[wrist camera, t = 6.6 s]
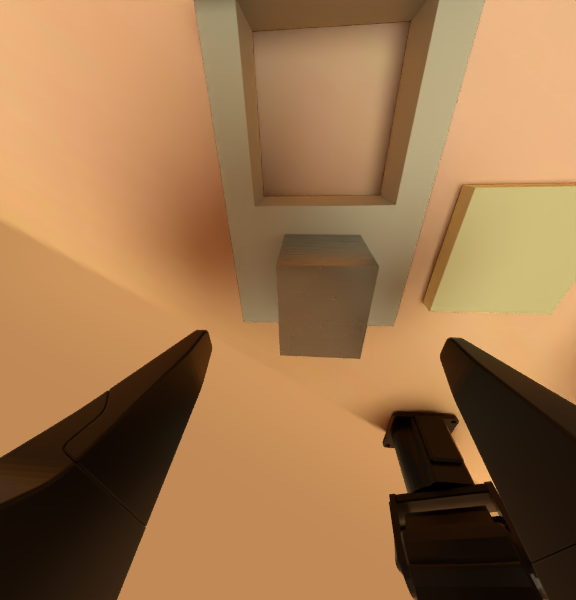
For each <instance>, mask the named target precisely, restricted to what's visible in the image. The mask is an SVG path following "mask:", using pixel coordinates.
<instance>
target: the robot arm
mask: <svg viewBox="0 0 576 600" xmlns="http://www.w3.org/2000/svg"><path fill="white" fill-rule="evenodd" d="M211 352H212V344H211V340H210V336H209V333H208V331H207V330H196V331H194V332H193V333H191V334H190V335H188V336H187V337H185V338H184V339H182V340H181V341H180V342H178V343H177V344H175V345H174V346H172V347H171V348H169V349H168V350H166V351H165V352H163V353H162V354H160V355H159V356H158V357H156V358H155V359H153V360H152V361H150V362H149V363H147V364H146V365H144V366H143V367H142V368H140V369H139V370H137V371H136V372H134V373H133V374H131V375H130V376H128V377H127V378H125V379H124V380H122V381H121V382H120V383H118V384H117V385H115V386H114V387H112V388H111V389H110V391H106V392H105V393H104V394H102V395H100V396H99V397H97V398H96V399H94V400H93V401H91V402H90V403H88V404H87V405H85V406H84V407H82V408H81V409H79V410H78V411H76V412H75V413H73V414H71V415H70V416H68V417H67V418H65V419H63V420H62V421H60V422H58V423H57V424H55V425H54V426H52V427H50V428H49V429H47V430H45V431H44V432H42V433H41V434H39V435H37V436H35V437H34V438H32V439H30V440H29V441H27V442H25V443H24V444H22V445H21V446H19V447H17V448H16V449H14V450H12V451H11V452H9V453H7V454H6V455H4V456H3V457H1V458H0V600H117V598H118V596H119V593H120V591H121V588H122V586H123V583H124V581H125V578H126V576H127V573H128V571H129V568H130V566H131V563H132V561H133V558H134V556H135V553H136V551H137V548H138V545H139V543H140V541H141V538H142V536H143V533H144V531H145V528H146V527H145V526H146V525H147V523H148V520H149V518H150V515H151V512H152V510H153V508H154V505H155V503H156V500H157V498H158V495H159V493H160V490H161V487H162V485H163V483H164V480H165V478H166V475H167V473H168V470H169V467H170V465H171V463H172V460H173V458H174V455H175V453H176V450H177V447H178V445H179V443H180V440H181V438H182V435H183V433H184V430H185V428H186V425H187V423H188V420H189V418H190V415H191V413H192V410H193V408H194V405H195V403H196V400H197V398H198V395H199V393H200V390H201V387H202V384H203V381H204V378H205V374H206V370H207V367H208V363H209V359H210V356H211ZM440 360H441V363H442V366H443V369H444V372H445V374H446V377H447V380H448V383H449V386H450V389H451V392H452V394H453V397H454V399H455V402H456V404H457V406H458V408H459V410H460V413H461V415H462V417H463V419H464V421H465V423H466V425H467V427H468V429H469V432H470V434H471V436H472V438H473V440H474V442H475V444H476V446H477V449H478V451H479V453H480V455H481V457H482V459H483V461H484V463H485V466H486V468H487V470H488V472H489V474H490V476H491V478H492V480H493V482H494V485H495V487H496V489H497V491H498V492H497V491H496V489H495V487H494V485H493V484H492V482H491V481H489V482H484V484H476V485H475V483H474V481H473V479H472V477H471V475H470V473H469V471H468V469H467V467H466V465H465V463H464V460H463V457H462V455H461V453H460V451H459V449H458V447H457V445H456V443H455V441H454V439H453V437H452V435H451V433H452V432H453V430H454V428H455V427H456V425H457V424H458V422H459V420H458V419H457V417H456V416H453V415H435V414H417V413H399V412H398V413H394V414H393V415H392V418H391V421H390V423H389V426H388V429H387V431H386V434H385V437H384V439H383V446H384V447H388V448H395V450H396V454H397V457H398V460H399V464H400V467H401V471H402V475H403V478H404V482H405V485H406V489H407V492H408V493H406V494H398V495H396V494H390V495H389V497H390V502H389V506H390V512H391V519H392V526H393V533H394V543H395V561H396V565H397V568H398V570H399V571H400V572H401V573H402V574H403V576H404V578H405V581H406V584H407V587H408V589H409V591H410V594H411V596H412V597H413V598H414V599H415V600H576V405H574V404H573V403H571V402H569V401H567V400H566V399H564V398H562V397H561V396H559V395H557V394H556V393H554V392H552V391H551V390H549V389H547V388H545V387H544V386H542V385H540V384H539V383H537V382H535V381H534V380H532V379H530V378H529V377H527V376H525V375H523V374H522V373H520V372H518V371H517V370H515V369H513V368H512V367H510V366H508V365H507V364H505V363H503V362H501V361H500V360H498V359H496V358H495V357H493V356H491V355H490V354H488V353H486V352H485V351H483V350H481V349H479V348H478V347H476V346H474V345H473V344H471V343H469V342H468V341H466V340H464V339H462V338H452V337H451V338H448V339H447V340H446V342H445V344H444V347H443V349H442V351H441V354H440ZM498 493H499V494H498ZM499 495H500V496H499ZM500 497H501V498H500ZM489 512H498V514H499V516H494V517H491V515H490V513H489Z"/></svg>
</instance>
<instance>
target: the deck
mask: <svg viewBox="0 0 576 600" xmlns="http://www.w3.org/2000/svg"><path fill="white" fill-rule="evenodd" d="M484 3H485V0H194V6H195V12H196V19H197V25H198V32H199V38H200V44H201V51H202V57H203V64H204V70H205V77H206V83H207V89H208V96H209V102H210V109H211V115H212V121H213V128H214V134H215V141H216V147H217V154H218V160H219V166H220V173H221V179H222V186H223V192H224V199H225V205H226V211H227V218H228V224H229V231H230V237H231V244H232V250H233V256H234V263H235V269H236V276H237V282H238V288H239V295H240V301H241V308H242V314H243V321H244V322H266V323H279V318H278V296H277V275H276V263H277V260H278V256H279V253H280V249H281V246H282V242H283V238H284V235H285V234H334V235H361V237H362V238H363V240H364V242H365V243H366V245H367V247H368V248H369V250H370V252H371V253H372V255H373V257H374V258H375V260H376V262H377V264H378V265H379V271H378V276H377V280H376V285H375V290H374V295H373V299H372V304H371V309H370V314H369V318H368V323H367V325H369V326H394V323H395V320H396V316H397V313H398V309H399V306H400V302H401V298H402V295H403V291H404V288H405V284H406V281H407V277H408V274H409V270H410V266H411V263H412V259H413V256H414V252H415V249H416V245H417V241H418V238H419V234H420V231H421V227H422V224H423V220H424V217H425V213H426V209H427V206H428V202H429V199H430V195H431V192H432V188H433V184H434V181H435V177H436V174H437V170H438V167H439V163H440V160H441V156H442V152H443V149H444V145H445V142H446V138H447V135H448V131H449V127H450V124H451V120H452V117H453V113H454V110H455V106H456V103H457V99H458V95H459V92H460V88H461V85H462V81H463V78H464V74H465V71H466V67H467V63H468V60H469V56H470V53H471V49H472V46H473V42H474V38H475V35H476V31H477V28H478V24H479V21H480V17H481V14H482V10H483V6H484ZM406 21H411V22H410V27H409V33H408V39H407V44H406V50H405V56H404V62H403V67H402V73H401V79H400V85H399V90H398V96H397V102H396V108H395V113H394V119H393V125H392V130H391V136H390V142H389V148H388V153H387V159H386V165H385V171H384V176H383V182H382V188H381V193H380V195H343V196H264V191H263V177H262V163H261V149H260V135H259V121H258V107H257V93H256V79H255V65H254V51H253V38H252V31H265V30H281V29H296V28H312V27H327V26H343V25H359V24H374V23H390V22H406Z"/></svg>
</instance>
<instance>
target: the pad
mask: <svg viewBox="0 0 576 600" xmlns="http://www.w3.org/2000/svg"><path fill="white" fill-rule="evenodd" d="M575 281H576V183H548V184H476V185H463V186H462V189H461V192H460V195H459V198H458V201H457V204H456V206H455V209H454V212H453V215H452V218H451V221H450V224H449V227H448V230H447V233H446V236H445V239H444V242H443V244H442V247H441V250H440V253H439V256H438V259H437V262H436V265H435V268H434V271H433V274H432V277H431V280H430V283H429V285H428V288H427V291H426V294H425V297H424V300H423V303H424V305H425V306H426V307H427V309H428V310H429V311H432V312H473V313H515V314H552V313H553V311H554V310H555V309H556V307H557V306H558V304H559V303H560V302H561V300H562V299H563V297H564V296H565V295H566V293H567V292H568V290H569V289H570V288H571V286H572V285H573V283H574V282H575Z"/></svg>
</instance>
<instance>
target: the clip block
mask: <svg viewBox="0 0 576 600" xmlns="http://www.w3.org/2000/svg"><path fill="white" fill-rule="evenodd" d="M378 271H379V265H378V264H377V262H376V260H375V258H374V257H373V255H372V253H371V252H370V250H369V248H368V247H367V245H366V243H365V242H364V240H363V238H362V237H361V235H334V234H285V235H284V238H283V242H282V246H281V249H280V253H279V256H278V260H277V263H276V275H277V296H278V318H279V339H280V355H287V356H310V357H333V358H356V359H360V356H361V352H362V347H363V342H364V337H365V333H366V328H367V323H368V318H369V314H370V309H371V304H372V299H373V295H374V290H375V285H376V280H377V276H378Z"/></svg>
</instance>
